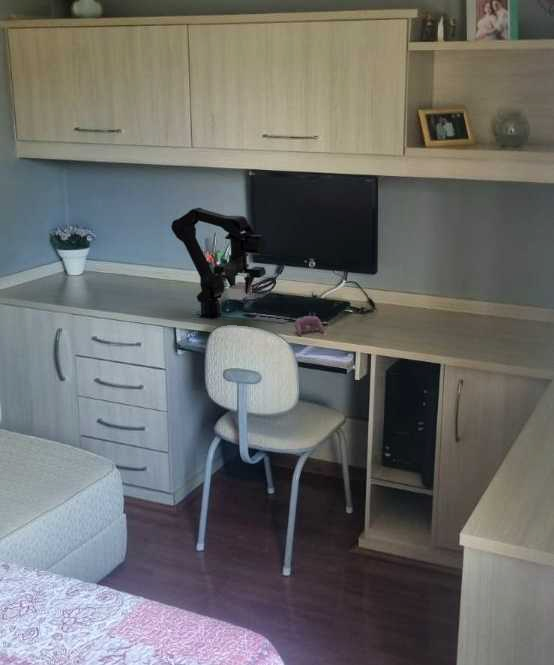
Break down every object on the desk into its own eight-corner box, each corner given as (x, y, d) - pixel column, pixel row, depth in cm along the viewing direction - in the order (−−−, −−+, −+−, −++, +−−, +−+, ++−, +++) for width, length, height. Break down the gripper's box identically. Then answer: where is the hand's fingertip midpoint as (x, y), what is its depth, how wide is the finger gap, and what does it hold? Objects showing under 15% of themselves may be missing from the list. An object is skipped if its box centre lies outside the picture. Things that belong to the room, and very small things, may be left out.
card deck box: (228, 298, 320) (228, 287, 319) (239, 292, 328) (239, 281, 327) (241, 300, 318) (240, 289, 317) (252, 293, 326) (251, 282, 325)
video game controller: (321, 334, 314) (318, 315, 315) (325, 332, 310) (322, 313, 311) (295, 337, 311) (291, 318, 312) (298, 335, 307) (295, 316, 308)
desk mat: (252, 320, 327) (252, 318, 327) (265, 311, 337) (265, 310, 336) (284, 323, 322) (284, 322, 322) (296, 315, 331) (296, 314, 331)
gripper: (205, 254, 315) (207, 296, 320) (252, 258, 307) (253, 301, 312) (219, 248, 324) (221, 288, 329) (265, 251, 317) (266, 293, 322)
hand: (240, 293), depth 323 cm, fingers closed on card deck box, 5 cm apart
